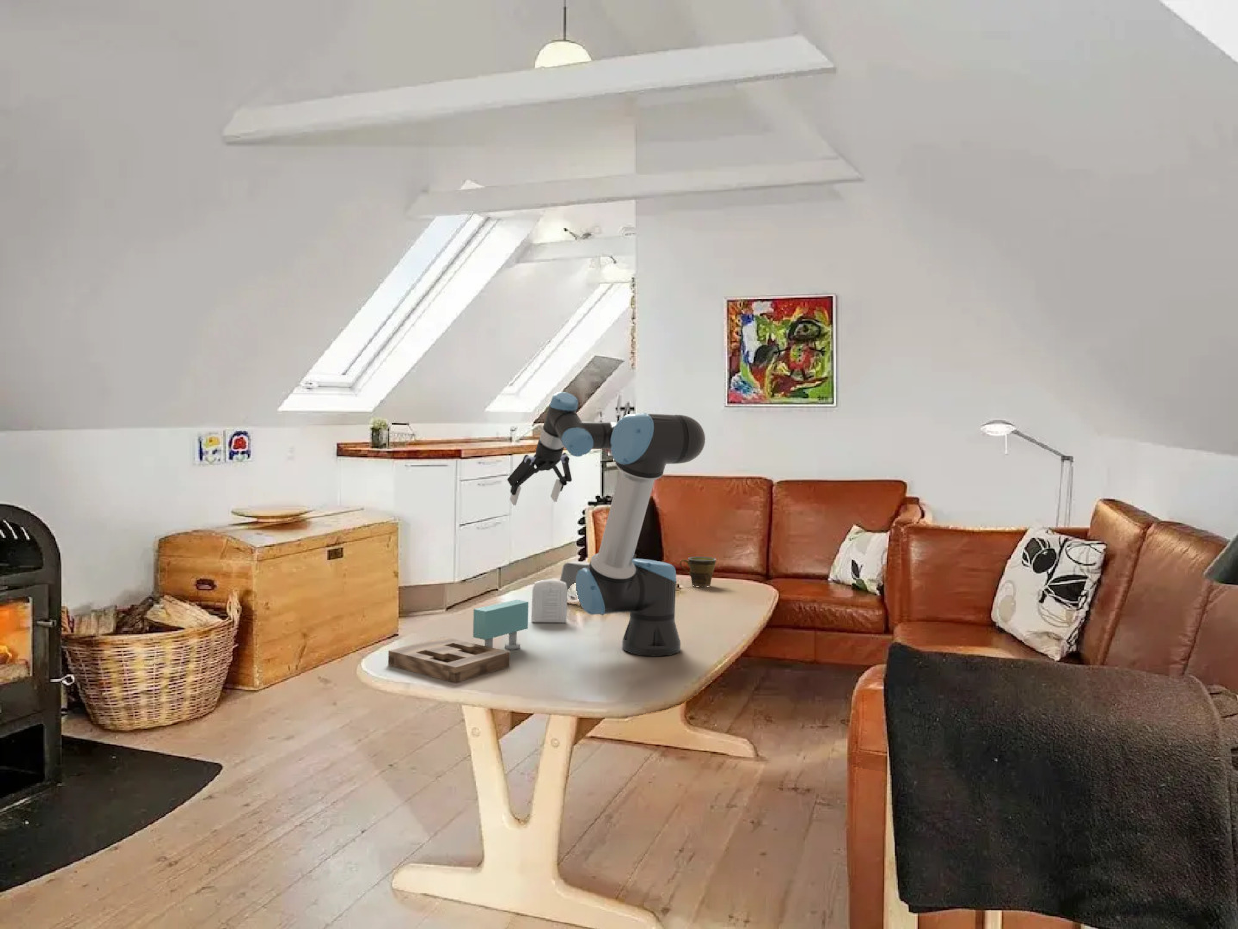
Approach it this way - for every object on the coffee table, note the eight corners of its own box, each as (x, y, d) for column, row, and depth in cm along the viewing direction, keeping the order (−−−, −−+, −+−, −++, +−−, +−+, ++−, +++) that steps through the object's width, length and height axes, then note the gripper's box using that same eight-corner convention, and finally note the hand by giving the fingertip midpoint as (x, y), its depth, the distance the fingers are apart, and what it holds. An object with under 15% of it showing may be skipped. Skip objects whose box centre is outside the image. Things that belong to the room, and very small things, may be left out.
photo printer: (566, 620, 268) (567, 578, 267) (567, 623, 263) (568, 581, 263) (531, 620, 266) (532, 578, 266) (531, 623, 262) (532, 581, 261)
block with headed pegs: (527, 646, 236) (528, 601, 235) (484, 658, 222) (485, 611, 222) (515, 644, 238) (516, 599, 237) (472, 656, 225) (473, 609, 224)
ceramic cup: (715, 584, 334) (716, 557, 333) (714, 589, 324) (715, 561, 323) (680, 582, 335) (680, 555, 335) (678, 587, 325) (679, 559, 325)
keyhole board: (509, 666, 216) (509, 651, 216) (455, 683, 202) (455, 667, 202) (443, 650, 229) (444, 636, 229) (388, 665, 214) (388, 650, 214)
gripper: (583, 433, 267) (564, 490, 278) (507, 436, 254) (490, 495, 265) (595, 448, 262) (575, 505, 273) (517, 452, 249) (500, 512, 260)
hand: (533, 500), depth 269 cm, fingers open, 13 cm apart
